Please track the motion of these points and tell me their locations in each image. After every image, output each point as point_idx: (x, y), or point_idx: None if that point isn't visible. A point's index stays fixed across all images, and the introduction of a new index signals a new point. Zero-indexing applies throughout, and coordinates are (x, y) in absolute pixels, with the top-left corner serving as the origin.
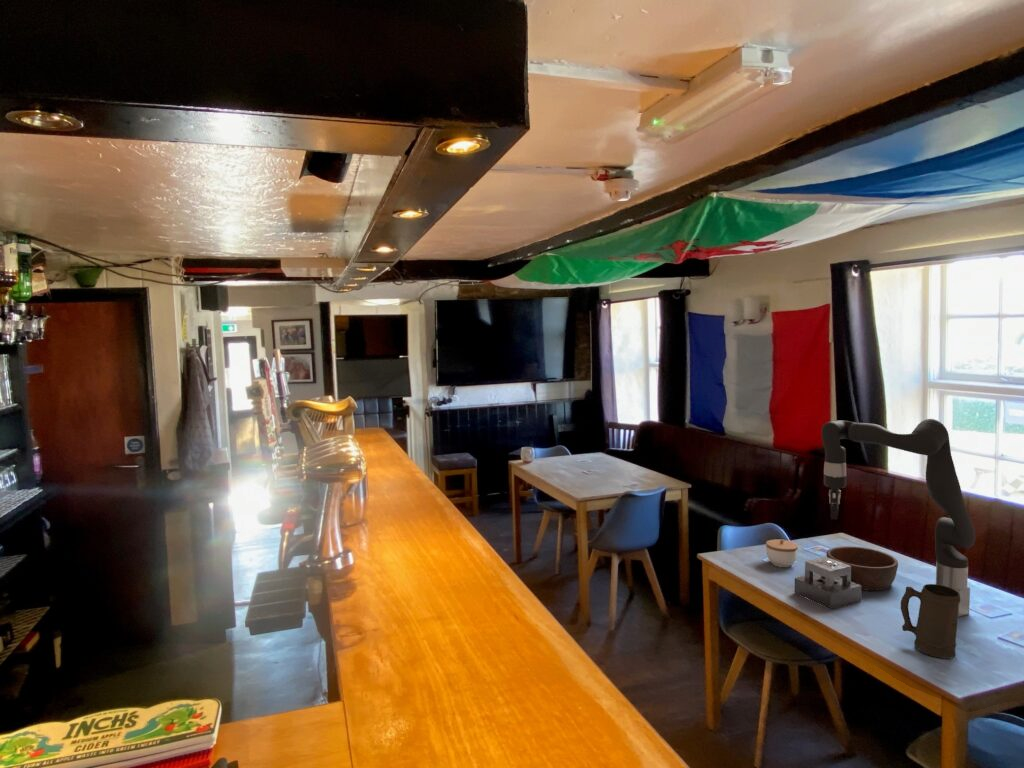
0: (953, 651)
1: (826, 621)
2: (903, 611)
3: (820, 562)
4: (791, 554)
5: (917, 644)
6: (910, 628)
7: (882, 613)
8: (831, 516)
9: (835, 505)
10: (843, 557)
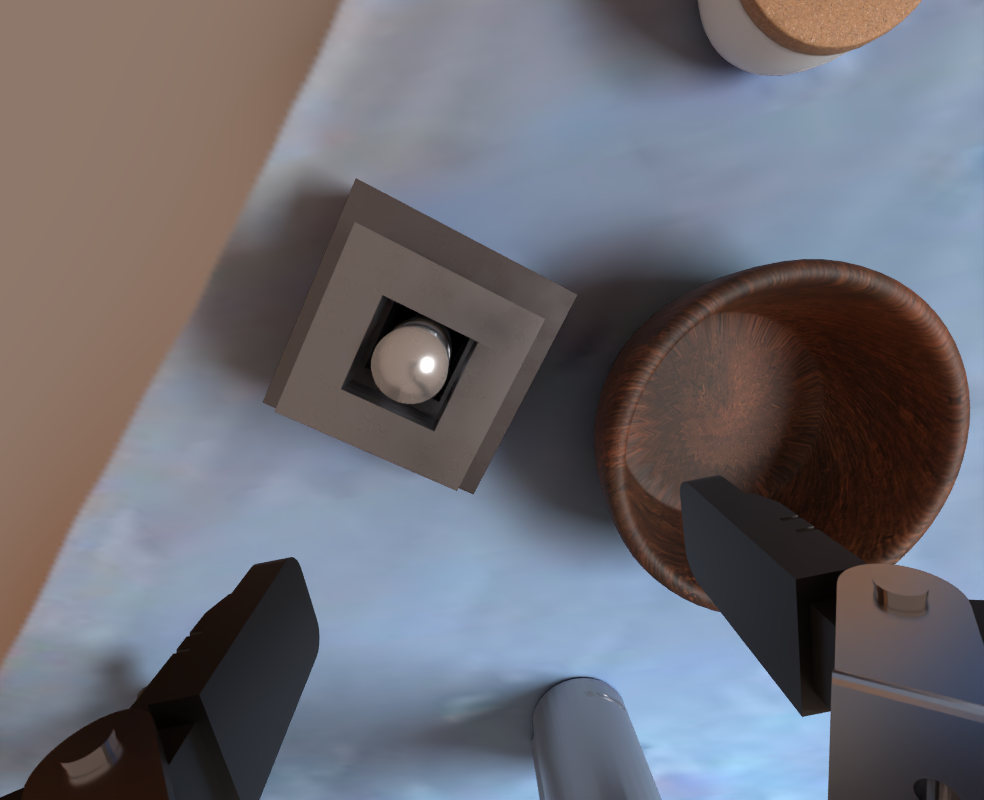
0: None
1: (154, 400)
2: None
3: (422, 313)
4: (749, 40)
5: None
6: None
7: (397, 552)
8: (247, 592)
9: (767, 623)
10: (864, 328)
